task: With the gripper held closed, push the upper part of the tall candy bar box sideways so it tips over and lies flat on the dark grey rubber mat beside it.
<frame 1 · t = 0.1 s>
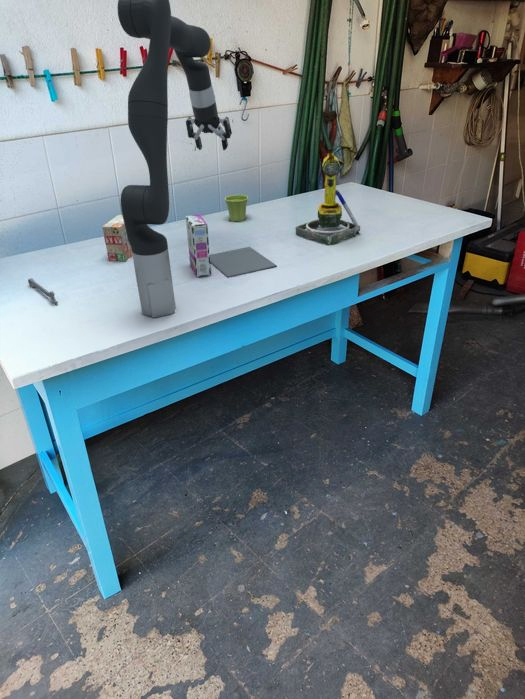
hand: (212, 148, 174), 31 cm above the workbench, tool tilted 20°, fingers open, 8 cm apart
combination wrench: (44, 296, 154), on the workbench
plant pot: (237, 220, 210), on the workbench
stack of blocks: (130, 251, 184), on the workbench
candy bar box: (200, 271, 166), on the workbench
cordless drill: (327, 236, 191), on the workbench
rubber mat: (239, 262, 171), on the workbench
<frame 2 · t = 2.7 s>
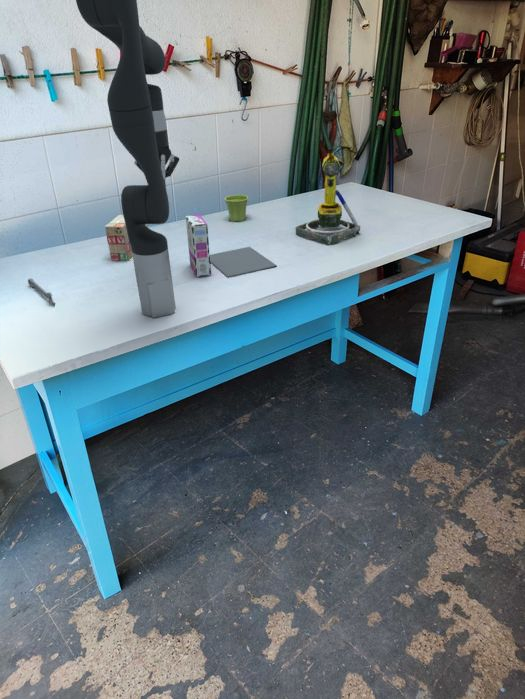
hand: (161, 192, 151), 25 cm above the workbench, tool pointing down, fingers closed
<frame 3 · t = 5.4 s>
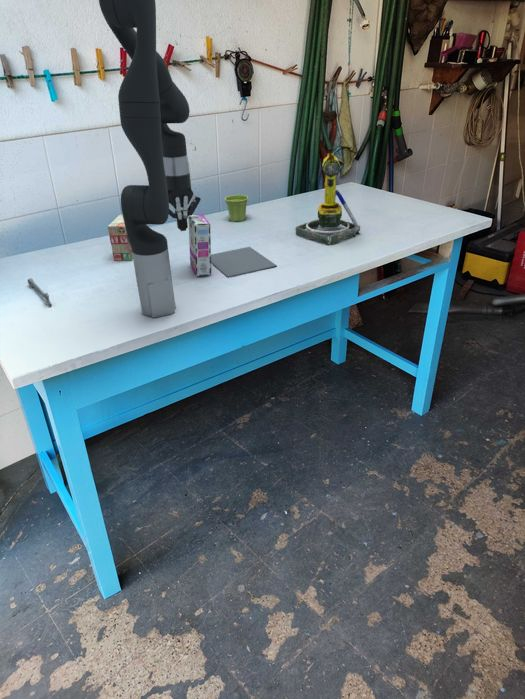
hand: (183, 230, 159), 13 cm above the workbench, tool pointing down, fingers closed
candy bar box: (200, 270, 166), on the workbench, touching gripper
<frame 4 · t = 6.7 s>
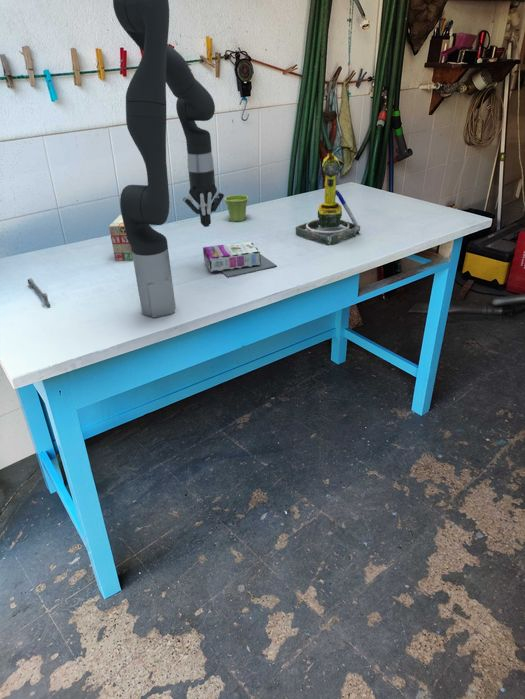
hand: (206, 225, 162), 13 cm above the workbench, tool pointing down, fingers closed
candy bar box: (205, 260, 166), point 3 cm above the workbench, touching rubber mat
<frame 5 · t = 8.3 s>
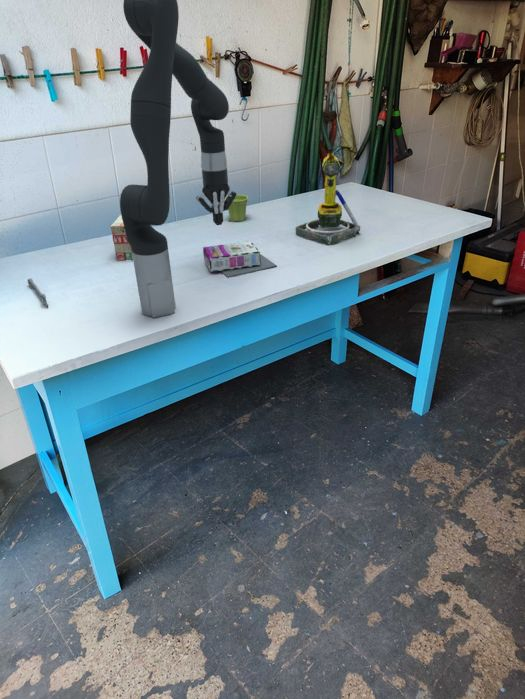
hand: (218, 224, 164), 13 cm above the workbench, tool pointing down, fingers closed
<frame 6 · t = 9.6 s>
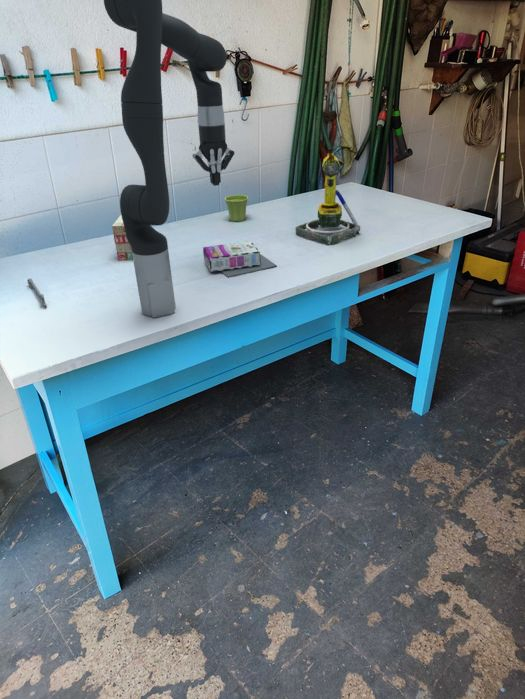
hand: (215, 184, 157), 25 cm above the workbench, tool pointing down, fingers closed
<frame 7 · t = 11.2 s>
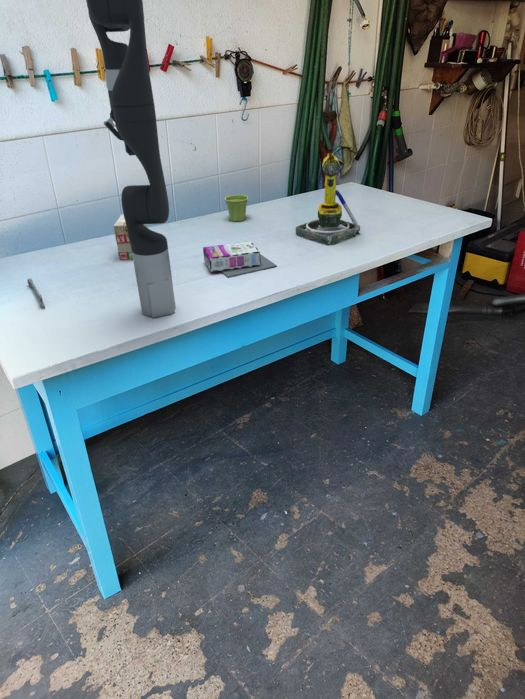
hand: (131, 154, 150), 35 cm above the workbench, tool pointing down, fingers closed
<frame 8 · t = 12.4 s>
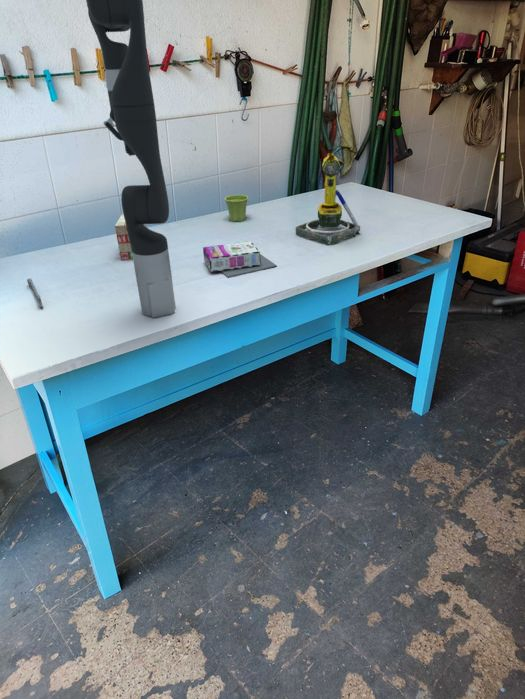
hand: (131, 154, 150), 35 cm above the workbench, tool pointing down, fingers closed
at the end: candy bar box tilted 89°; candy bar box touching rubber mat; the gripper is holding nothing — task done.
